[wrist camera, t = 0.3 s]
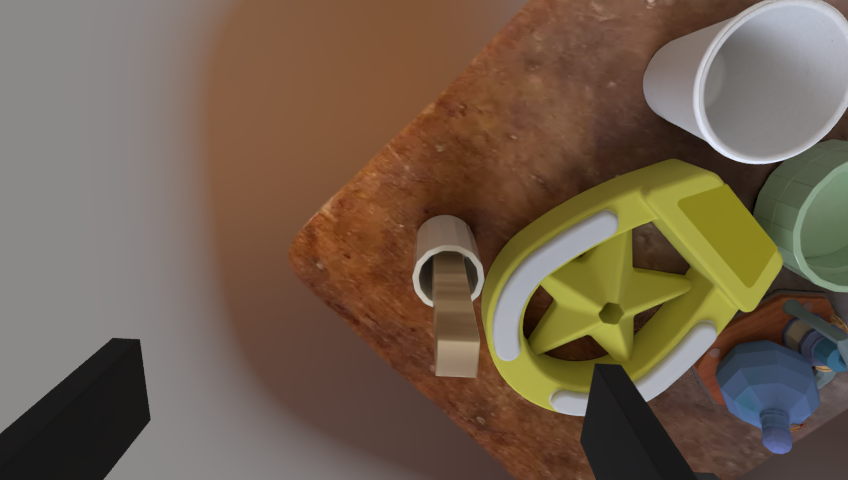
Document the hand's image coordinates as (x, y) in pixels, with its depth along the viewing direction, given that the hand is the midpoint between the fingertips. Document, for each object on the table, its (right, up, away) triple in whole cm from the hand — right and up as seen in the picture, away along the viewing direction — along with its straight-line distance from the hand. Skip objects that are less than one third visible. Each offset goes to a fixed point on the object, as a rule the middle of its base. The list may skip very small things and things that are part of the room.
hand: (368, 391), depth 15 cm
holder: (+3, +4, +25) cm, 25 cm away
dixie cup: (+20, +16, +21) cm, 33 cm away
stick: (+3, +4, +24) cm, 25 cm away
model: (+30, -5, +28) cm, 41 cm away
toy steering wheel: (+16, +1, +26) cm, 31 cm away
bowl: (+31, +7, +24) cm, 40 cm away
